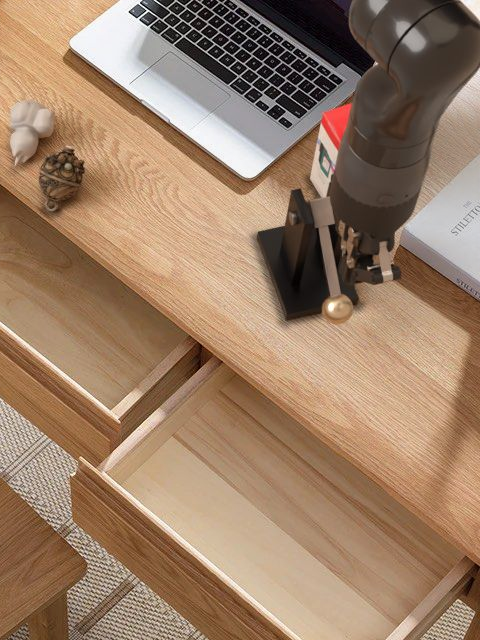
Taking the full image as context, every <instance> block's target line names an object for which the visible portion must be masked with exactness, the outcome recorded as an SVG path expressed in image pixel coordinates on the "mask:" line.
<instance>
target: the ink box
mask: <svg viewBox="0 0 480 640" xmlns="http://www.w3.org/2000/svg"><path fill="white" fill-rule="evenodd" d="M351 104H352V102H351V103H347V104H344V105H341V106H338V107H336V108H333V109H330V110H326V111H324V112H322V116H321V120H320V126H319V131H318V135H317V141H316V145H315V151H314V156H313V161H312V167H311V172H310V175H309V180H310V182H311V183H312V184H313V186H314V188H315V190H316V191H317V193H318V195H319V197H320V198H323V197H326V195H327V191H328V186H329V182H331V174H334V169H335V164H336V160H337V155H338V150H339V146H340V142H341V139H342V137H343V134H344V132H345V130H346V127H347V124H348V119H349V114H350V110H351Z"/></svg>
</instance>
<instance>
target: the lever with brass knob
mask: <svg viewBox="0 0 480 640" xmlns="http://www.w3.org/2000/svg"><path fill="white" fill-rule="evenodd" d="M305 201H306V204H307V206H308V209H309V212H310V214H311V217H312V219H313V222H314V225H313V228H316V233H317V238H318V243H319V249H320V254H321V260H322V265H323V270H324V276H325V281H326V286H327V292H328V297H327V298H326V299H325V300H324V301H323V303H322V307H321V312H322V313H321V315H322V317H323V318H324V320H325V321H326V322H327V323H329V324H331V325H342V324H345V323H347V322H348V321H349V320H350V319H351V317H352V316H353V312H354V306H353V305H352V302H351V300H350V299H349V298H348V297H347V296H345V295H343V294H341V292H340V286H339V281H338V275H337V270H336V265H335V259H334V254H333V248H332V243H331V237H330V232H329V227H328V225H332V224H335V218H334V213H333V209H332V206H331V203H330V196H329V197H323V198H322V197H319V198H314V199H309V200H305Z"/></svg>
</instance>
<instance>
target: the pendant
mask: <svg viewBox="0 0 480 640" xmlns="http://www.w3.org/2000/svg"><path fill="white" fill-rule="evenodd" d="M75 154H76V152H75V148H74V147H73V146H71V145H65V146H64V148H63V149H62V151H58V149H55V150H51V151H50V154H49V156H48V155H45V156H44V157H43V158H44V161H43V162H42V164H41V165H40V168H39V169H38V171H39V172H38V173H39V174H38V175H39V176H38V184H39V188H40V189H41V191H42V193H43V194H44V195H45V196H46V198H47V199H46V201H44V207H45V209H46V210H47V211H48V212H51V213H53V212H56V211H57V210H58V207H59V203H58V202H61V201H64V200H68V199H70V198H73V197H74V196H75V195H76V194H77V192H78V189H79V187H81V185H82V183H83V178H84V177H83V175H84V174H85V173H86V168H85V163H86V161H85V160H84V159H79V157H78V156H76V155H75ZM50 202H52V203H53V204H54V207H53V208H50V206H49V204H50Z"/></svg>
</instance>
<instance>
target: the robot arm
mask: <svg viewBox="0 0 480 640" xmlns="http://www.w3.org/2000/svg"><path fill="white" fill-rule="evenodd" d="M347 17H348V19H347V20H348V29H349V31H350V34H351V35H352V37H353V38H354V40H355V41H356V42H357V43H358V44H359V46H360V47H362V49H363V50H364V51H365V52H366V53H367V54H368V55H369V56H370V57H371V58H372V60H373V61H375V62H376V64H375V65H373V66H371V67H370V68H369V69H367V70H366V71H365V72H364V73H363V75H361V77H360V79H359V80H358V82H357V84H356V87H355V90H354V92H353V96H352V101H351V103H352V104H351V110H350V114H349V119H348V124H347V127H346V130H345V132H344V134H343V137H342V139H341V142H340V146H339V150H338V155H337V160H336V164H335V169H334V174H331V188H330V203H331V206H332V209H333V211H334V214H335V224H336V227H335V228H336V231H337V233H338V235H341V237H342V239H341V250H342V256H343V257H342V261H341V265H340V269H339V272H340V275H341V277H342V280H343V283H344V284H345V285H348V284H349V285H354V286H355V285H358V284H362V283H365V284H368V285H371V286H377V285H382V284H385V283H389V282H390V283H391V282H394V281H398V280H401V279H402V270H401V269H400V266H398V265H395V261H394V260H393V259H392V260H391V259H390V252H392V251H393V249H394V248H395V241H396V240H395V237H396V233H397V231H398V230H399V229H400V228H402V226H403V225H405V224H406V223H407V222H408V221H409V220H410V218H411V217H412V215H413V214H414V212H415V210H416V206H417V203H418V200H419V197H420V194H421V191H422V187H423V184H424V181H425V178H426V175H427V171H428V169H429V165H430V161H431V155H432V145H433V143H434V139H435V137H436V134H437V131H438V127H439V124H440V120H441V118H442V116H443V115H444V113H445V112H446V111H447V110H448V108H449V107H450V105H451V104H452V102H453V101H454V99H455V98H456V97H457V95H459V94H460V92H461V91H462V90H463V89H464V87H465V86H466V85H467V84H468V83H469V82H470V81H471V80H472V79H473V77H474V76H475V75H476V74H477V72H478V71H479V70H480V19H479V18H478V16H476V14H475V13H474V12H473V11H472V10H471V9H470V8H469V7H468V6H467V5H466V4H464V3H463V1H461V0H351V3H350V7H349V11H348V16H347Z"/></svg>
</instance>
